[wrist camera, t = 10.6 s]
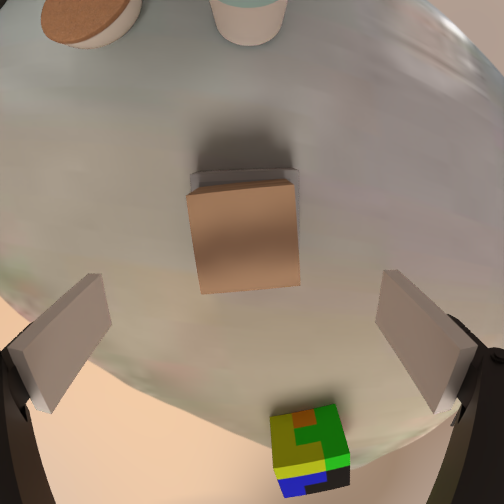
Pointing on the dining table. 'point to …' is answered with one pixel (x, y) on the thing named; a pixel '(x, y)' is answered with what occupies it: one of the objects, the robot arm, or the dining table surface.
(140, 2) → the lidded jar
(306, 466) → the puzzle toy
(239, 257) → the walnut brick
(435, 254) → the dining table surface
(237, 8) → the can
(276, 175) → the tower base
